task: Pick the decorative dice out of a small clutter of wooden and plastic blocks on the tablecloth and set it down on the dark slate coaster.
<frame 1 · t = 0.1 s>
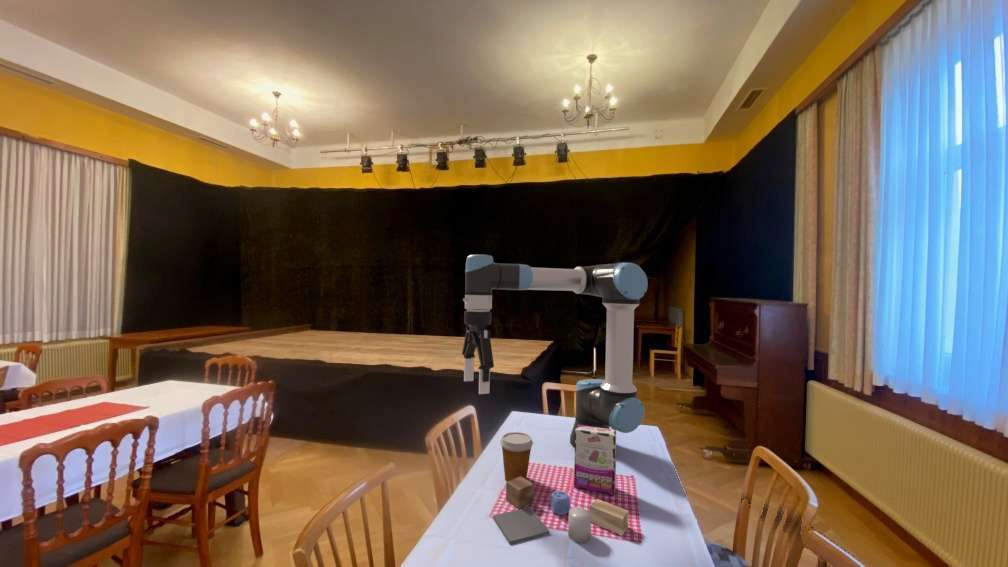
hand: (475, 386, 105), 28 cm above the table, tool pointing down, fingers open, 13 cm apart
slate coaster: (520, 525, 89), on the table
disposable coffee cup: (515, 479, 110), on the table
decorative dice: (559, 511, 95), on the table
maple bar: (608, 525, 90), on the table
walnut cube: (519, 502, 99), on the table
grey plastic cylinder: (579, 536, 86), on the table
candy bar box: (594, 488, 107), on the table
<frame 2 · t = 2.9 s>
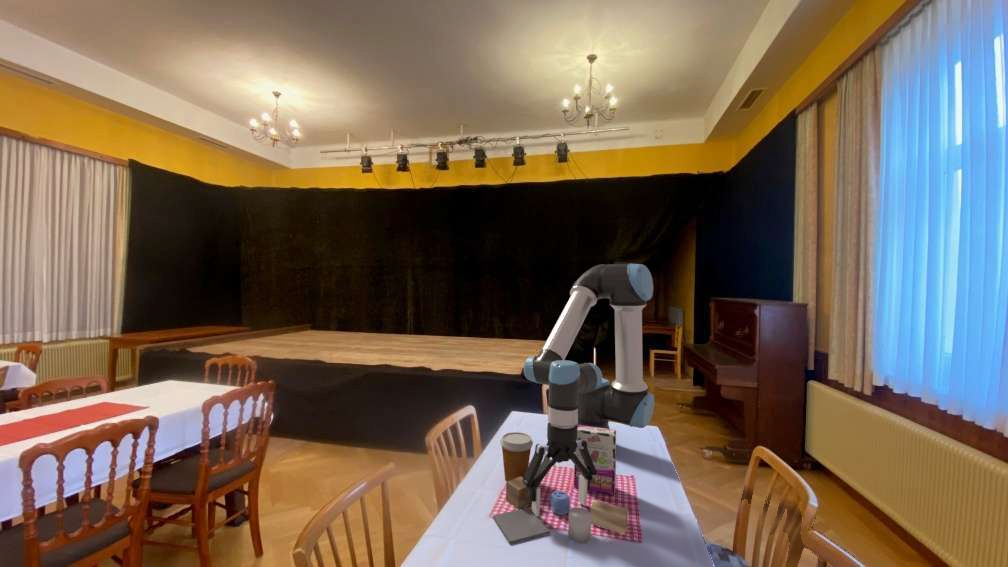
hand: (559, 508, 95), 1 cm above the table, tool pointing down, fingers open, 13 cm apart
nothing on the table moved.
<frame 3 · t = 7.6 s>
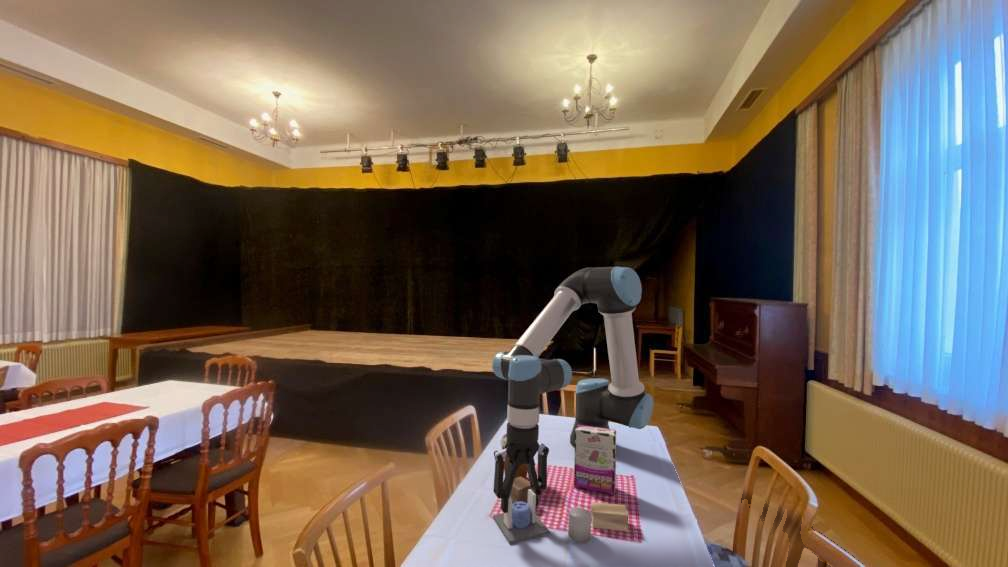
hand: (519, 522, 89), 1 cm above the table, tool pointing down, fingers open, 5 cm apart
decorative dice: (520, 524, 89), resting on slate coaster
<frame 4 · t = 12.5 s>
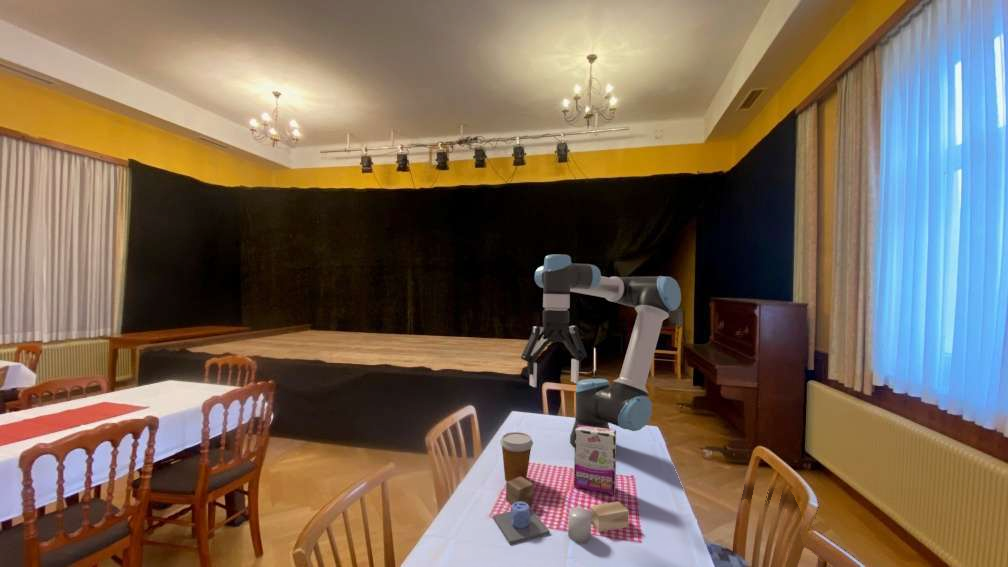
hand: (554, 384, 107), 29 cm above the table, tool pointing down, fingers open, 13 cm apart
at the end: decorative dice inside the target area on the slate coaster (0.1 cm from its centre), point 0.4 cm above the slate coaster's base; the gripper is holding nothing; walnut cube moved 0.1 cm from its start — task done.
